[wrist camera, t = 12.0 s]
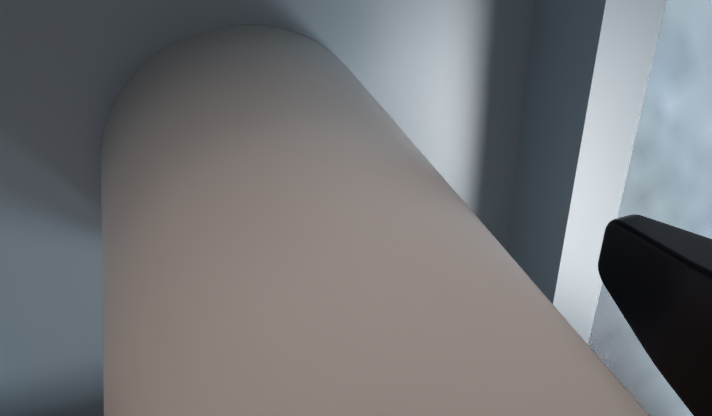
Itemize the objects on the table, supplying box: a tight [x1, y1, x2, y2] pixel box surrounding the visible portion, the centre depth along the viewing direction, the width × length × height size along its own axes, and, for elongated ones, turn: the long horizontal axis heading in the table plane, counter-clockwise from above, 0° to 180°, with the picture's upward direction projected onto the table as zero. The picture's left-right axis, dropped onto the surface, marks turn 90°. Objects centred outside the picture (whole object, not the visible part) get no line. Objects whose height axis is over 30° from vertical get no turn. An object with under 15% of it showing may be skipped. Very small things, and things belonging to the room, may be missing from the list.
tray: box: [0, 0, 667, 416], centre depth 11 cm, size 14×14×3 cm
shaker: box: [101, 24, 649, 416], centre depth 8 cm, size 5×5×10 cm
